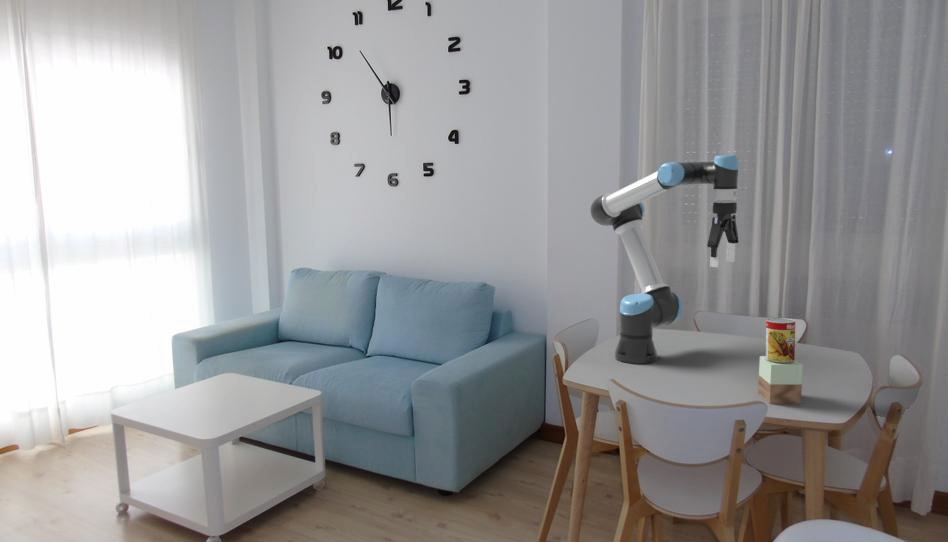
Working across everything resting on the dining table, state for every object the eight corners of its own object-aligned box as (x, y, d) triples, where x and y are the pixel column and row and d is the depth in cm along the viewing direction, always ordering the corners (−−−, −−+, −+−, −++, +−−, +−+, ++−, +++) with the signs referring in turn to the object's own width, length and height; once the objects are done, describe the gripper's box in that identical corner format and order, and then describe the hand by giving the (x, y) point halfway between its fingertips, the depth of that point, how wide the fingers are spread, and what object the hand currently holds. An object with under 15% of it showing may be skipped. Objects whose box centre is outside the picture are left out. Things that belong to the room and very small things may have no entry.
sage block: (770, 384, 190) (771, 364, 189) (758, 374, 199) (759, 356, 198) (801, 384, 189) (802, 364, 188) (788, 374, 198) (789, 356, 197)
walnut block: (769, 404, 190) (770, 384, 189) (758, 393, 199) (758, 375, 198) (800, 404, 190) (801, 384, 189) (787, 393, 199) (788, 374, 198)
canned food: (796, 363, 188) (796, 322, 187) (766, 361, 191) (767, 321, 190) (792, 357, 195) (793, 318, 194) (764, 355, 198) (765, 317, 197)
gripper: (720, 204, 204) (718, 270, 207) (750, 200, 222) (747, 260, 225) (698, 203, 209) (696, 268, 212) (728, 199, 227) (726, 259, 230)
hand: (722, 264), depth 219 cm, fingers open, 13 cm apart
